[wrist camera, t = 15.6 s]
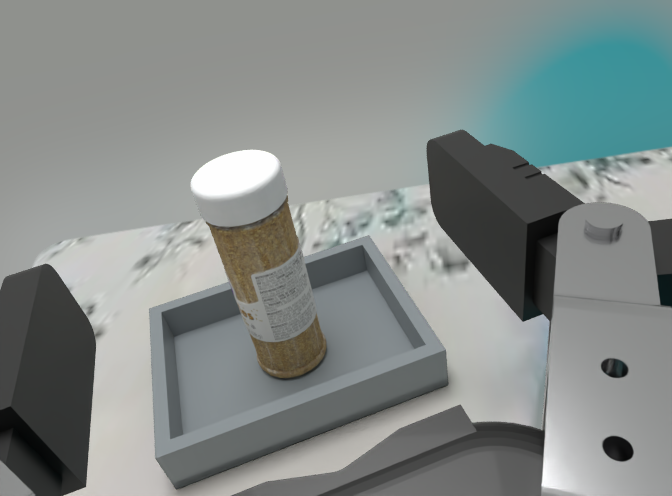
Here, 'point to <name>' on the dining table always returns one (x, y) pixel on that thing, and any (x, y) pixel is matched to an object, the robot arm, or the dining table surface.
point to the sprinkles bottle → (262, 258)
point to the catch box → (285, 393)
